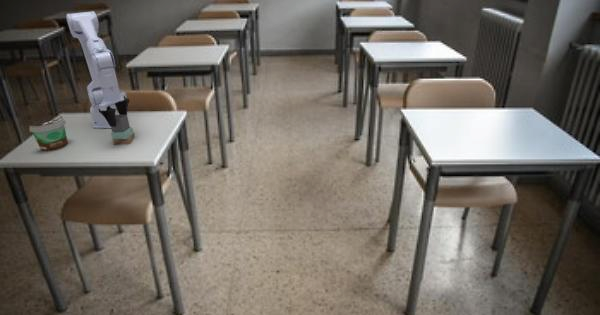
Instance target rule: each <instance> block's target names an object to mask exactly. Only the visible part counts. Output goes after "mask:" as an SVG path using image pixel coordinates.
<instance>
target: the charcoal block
mask: <svg viewBox="0 0 600 315" xmlns="http://www.w3.org/2000/svg"><path fill="white" fill-rule="evenodd" d="M115 119H116V127H111V128H110V129H111V132H125V131H126V130H127V129H128V128H130V127H131V125H130V121H129V118H128V114H127V115H119V114H118V115H115Z"/></svg>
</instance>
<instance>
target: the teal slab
mask: <svg viewBox="0 0 600 315" xmlns="http://www.w3.org/2000/svg"><path fill="white" fill-rule="evenodd" d="M133 133H134V134H135V132H134V129H133V126H130V128H128V129H127V130H126V131H125V132H112V131H111V132H110V134H111V137H112V138H111V139H112V140H113V139H127V138H129V137H130V136H131V135H132V134H133Z"/></svg>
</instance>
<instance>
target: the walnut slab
mask: <svg viewBox="0 0 600 315" xmlns="http://www.w3.org/2000/svg"><path fill="white" fill-rule="evenodd" d="M135 138H136V136H135V132H134V133H133V134H132V135H131V136H130V137H129V138H127V139H113V138H112V142H113V143H112V144H113V145H114V146H115V145H117V146H118V145H131V144H132V143H133V141H134V139H135Z"/></svg>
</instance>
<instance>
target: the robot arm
mask: <svg viewBox="0 0 600 315" xmlns="http://www.w3.org/2000/svg"><path fill="white" fill-rule="evenodd" d="M65 17H66V22H67V26H68V28H69V31H70V34H71V35H72V37H73V38H75V39H78V41H79V43H80V44H81V49H82V51H83V55H84V58H85V61H86V64H87V68H88V71H89V74H90V77H91V81H90V83H89V84H88V85H87V86H86V87H87V88H86V90H87V94H88V100H89V102H90V104H91V106H90V109H89V114H90V117H91V121H92V123H93V126H92V128H93V129H96V128H97V129H112V128H111V127H116V119H115V115H127V116H128V108H129V104H130V99H129V98H127V93H126V92H125V91H123V92H122V91H120V86H119V83H118V78H117V74H116V70H115V68H116V60H115V57H114V54H113V53H112V50H110V49H108V48H107V46H106V44H105V42H104V40H103V39H102V38H100V37H98V33H99V27H100V23H99V19H98V16H97V14H96V12H95V11H94V10H92V11H85V12H76V13H66V16H65Z"/></svg>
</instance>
